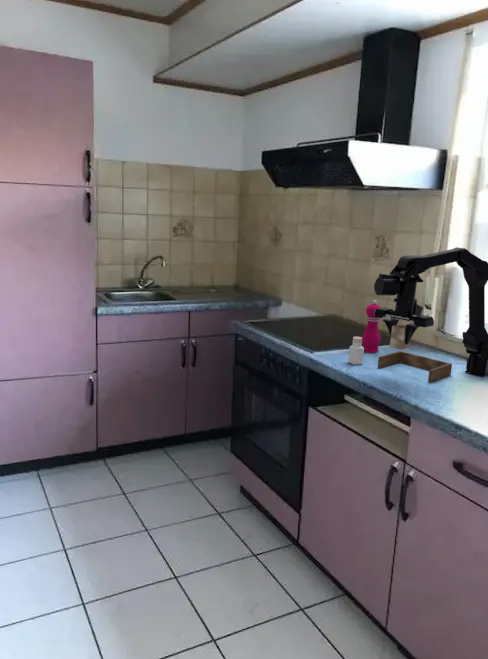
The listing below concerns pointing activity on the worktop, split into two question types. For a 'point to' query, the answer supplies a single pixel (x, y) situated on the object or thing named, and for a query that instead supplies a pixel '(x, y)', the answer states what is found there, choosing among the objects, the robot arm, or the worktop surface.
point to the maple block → (398, 337)
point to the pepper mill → (371, 330)
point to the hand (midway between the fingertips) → (400, 342)
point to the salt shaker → (356, 351)
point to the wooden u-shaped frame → (417, 364)
